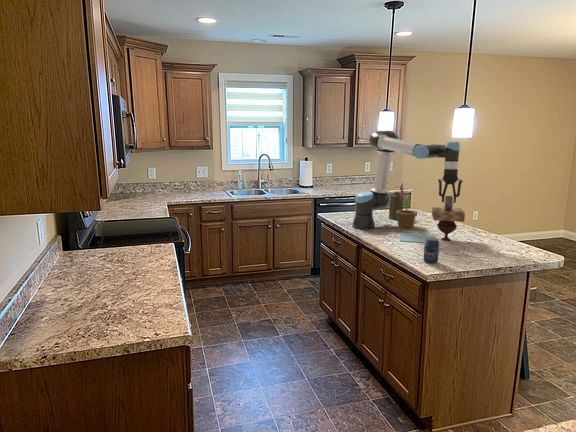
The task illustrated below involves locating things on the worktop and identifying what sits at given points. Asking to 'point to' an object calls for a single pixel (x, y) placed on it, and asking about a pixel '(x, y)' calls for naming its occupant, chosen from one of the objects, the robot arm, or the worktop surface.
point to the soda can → (431, 250)
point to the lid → (448, 212)
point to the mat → (414, 237)
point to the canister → (395, 205)
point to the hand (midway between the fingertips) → (448, 207)
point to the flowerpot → (405, 213)
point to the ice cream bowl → (446, 228)
